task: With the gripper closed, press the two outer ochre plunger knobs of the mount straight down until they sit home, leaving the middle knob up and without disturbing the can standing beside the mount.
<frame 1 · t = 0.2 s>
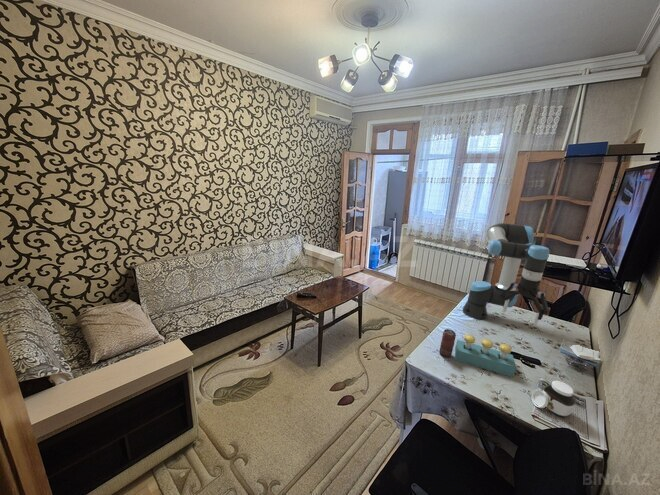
hand: (519, 317, 131), 27 cm above the table, fingers open, 13 cm apart
mount: (482, 362, 139), on the table
can: (444, 354, 143), on the table
spread jar: (548, 408, 114), on the table
plunger 2: (504, 353, 133), point 9 cm above the table, slide at 4.0 cm
plunger 1: (468, 343, 139), point 9 cm above the table, slide at 4.0 cm
plunger mid: (485, 348, 136), point 9 cm above the table, slide at 4.0 cm
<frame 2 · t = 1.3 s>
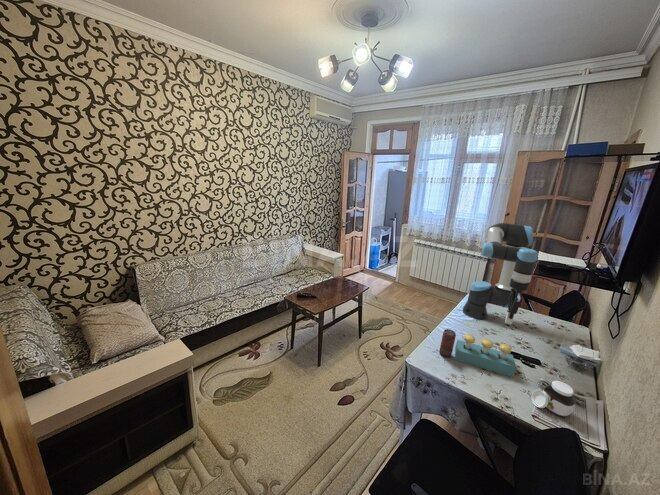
hand: (508, 323, 135), 22 cm above the table, fingers closed
nothing on the table moved.
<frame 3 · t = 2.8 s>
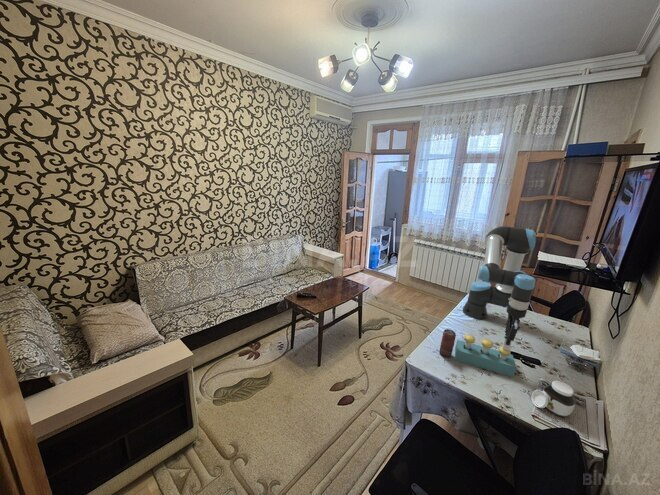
hand: (505, 349, 132), 11 cm above the table, fingers closed
plunger 2: (503, 355, 134), point 7 cm above the table, slide at 2.4 cm, touching gripper
everything else where it was.
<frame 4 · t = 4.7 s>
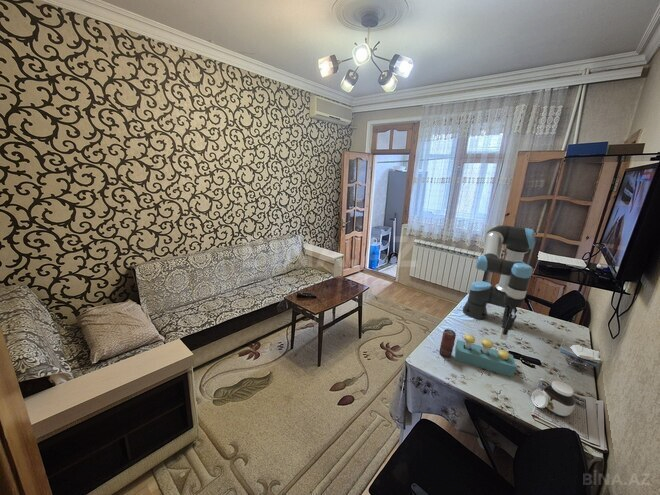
hand: (502, 338, 132), 16 cm above the table, fingers closed
plunger 2: (502, 359, 134), point 5 cm above the table, slide at 0.2 cm
everything else where it was.
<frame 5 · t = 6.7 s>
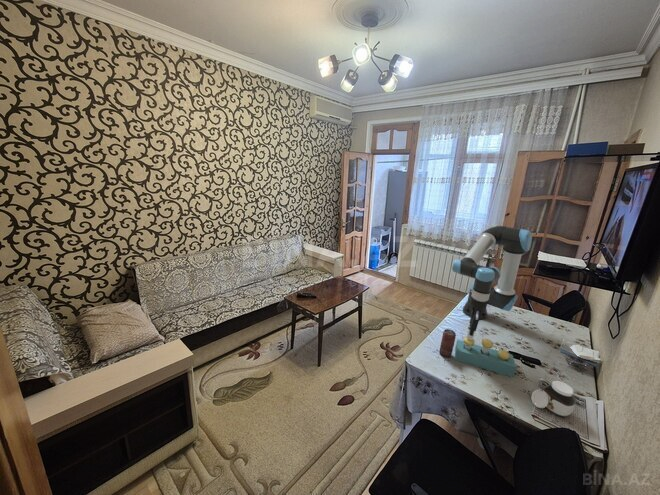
hand: (469, 339, 138), 11 cm above the table, fingers closed
plunger 1: (468, 345, 140), point 7 cm above the table, slide at 2.5 cm, touching gripper
everything else where it was.
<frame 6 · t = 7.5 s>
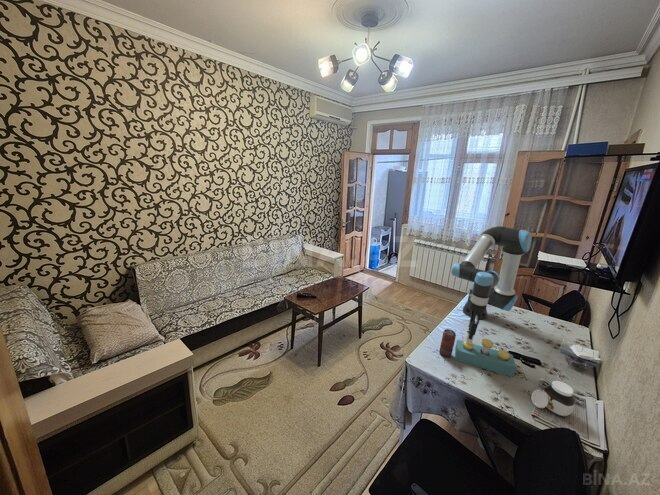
hand: (468, 342, 139), 9 cm above the table, fingers closed
plunger 1: (467, 349, 140), point 5 cm above the table, slide at 0.2 cm, touching gripper
everything else where it was.
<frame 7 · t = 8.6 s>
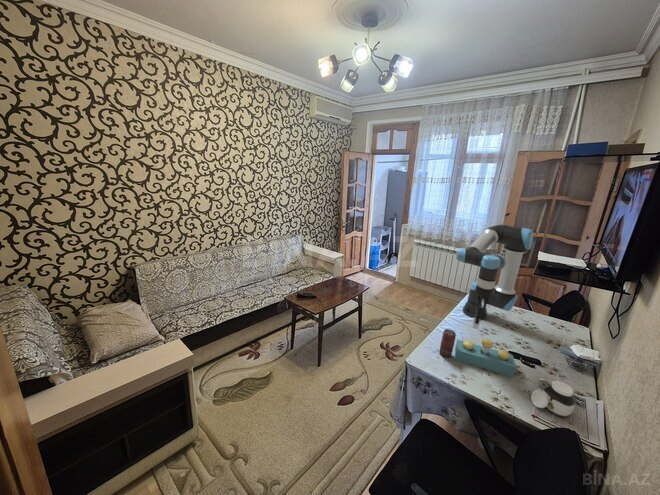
hand: (475, 327, 138), 17 cm above the table, fingers closed
plunger 1: (467, 349, 140), point 5 cm above the table, slide at 0.2 cm
everything else where it was.
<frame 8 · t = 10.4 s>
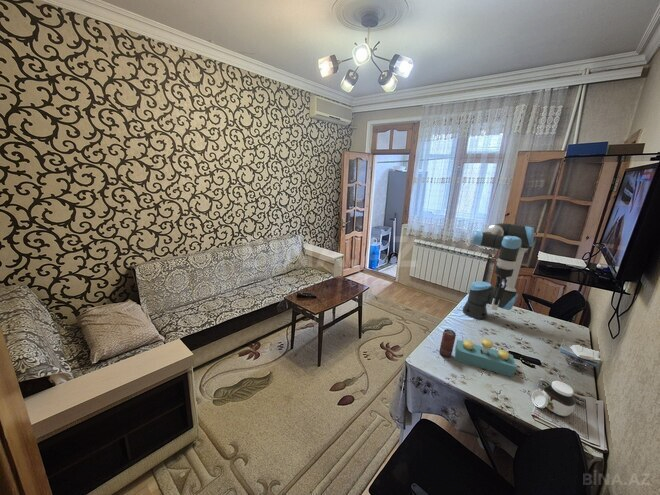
hand: (493, 309, 139), 26 cm above the table, fingers closed
nothing on the table moved.
at the end: plunger 2 slide at 0.2 cm; plunger 1 slide at 0.2 cm; can moved 0.2 cm from its start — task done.
